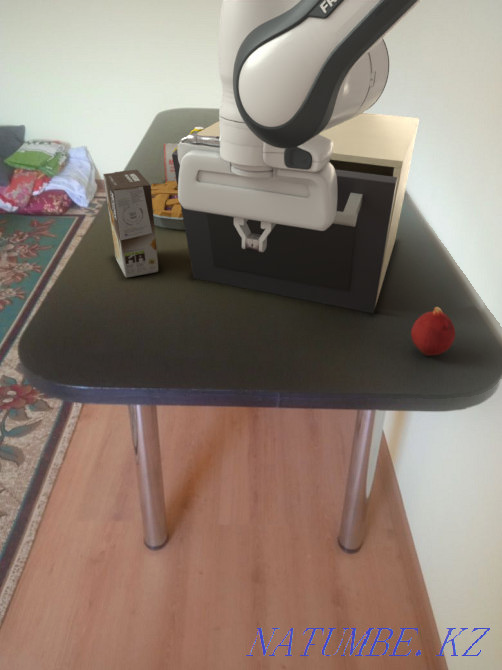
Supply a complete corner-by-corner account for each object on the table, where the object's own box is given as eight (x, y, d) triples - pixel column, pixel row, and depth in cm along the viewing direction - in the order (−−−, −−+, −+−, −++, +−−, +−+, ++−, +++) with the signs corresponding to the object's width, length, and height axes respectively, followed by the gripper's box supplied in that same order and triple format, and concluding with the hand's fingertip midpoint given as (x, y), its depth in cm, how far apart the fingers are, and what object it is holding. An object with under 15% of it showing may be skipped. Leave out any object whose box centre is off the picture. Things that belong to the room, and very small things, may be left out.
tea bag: (167, 181, 134) (164, 141, 128) (193, 181, 134) (191, 142, 128) (166, 186, 130) (162, 145, 125) (192, 186, 131) (190, 146, 125)
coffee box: (160, 272, 93) (152, 184, 84) (125, 278, 91) (113, 190, 82) (146, 251, 100) (137, 168, 91) (113, 257, 98) (101, 172, 89)
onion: (443, 344, 77) (457, 298, 72) (451, 368, 72) (466, 321, 68) (404, 341, 77) (414, 295, 73) (409, 365, 73) (421, 317, 68)
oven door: (366, 339, 80) (388, 208, 63) (179, 299, 88) (153, 174, 71) (375, 307, 85) (397, 177, 67) (197, 272, 93) (176, 148, 76)
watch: (188, 148, 159) (187, 128, 155) (191, 145, 161) (190, 125, 158) (206, 150, 158) (206, 129, 154) (209, 147, 160) (209, 127, 156)
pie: (127, 231, 108) (124, 208, 105) (148, 194, 125) (146, 174, 123) (232, 235, 107) (232, 212, 104) (237, 197, 125) (237, 177, 122)
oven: (375, 308, 85) (403, 161, 71) (197, 273, 93) (191, 136, 80) (395, 240, 107) (419, 118, 93) (249, 217, 115) (252, 102, 101)
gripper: (164, 138, 61) (172, 245, 69) (336, 158, 55) (323, 273, 63) (187, 126, 66) (192, 227, 73) (347, 144, 60) (333, 251, 68)
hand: (254, 249), depth 68 cm, fingers closed
